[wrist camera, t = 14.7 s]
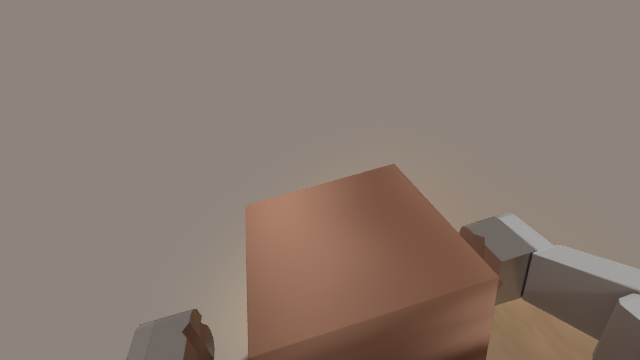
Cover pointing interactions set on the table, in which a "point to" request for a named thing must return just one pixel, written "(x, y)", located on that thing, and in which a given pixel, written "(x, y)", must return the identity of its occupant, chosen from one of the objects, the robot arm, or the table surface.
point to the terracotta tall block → (363, 276)
